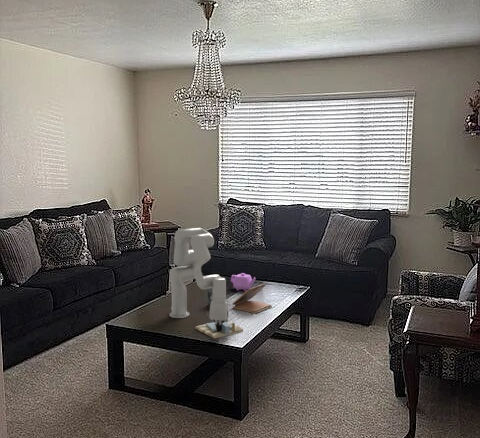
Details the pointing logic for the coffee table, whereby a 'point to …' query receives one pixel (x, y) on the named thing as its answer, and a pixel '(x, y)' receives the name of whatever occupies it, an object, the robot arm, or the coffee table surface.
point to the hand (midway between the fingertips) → (219, 330)
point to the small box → (210, 294)
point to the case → (251, 305)
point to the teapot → (242, 281)
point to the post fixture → (218, 334)
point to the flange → (225, 327)
